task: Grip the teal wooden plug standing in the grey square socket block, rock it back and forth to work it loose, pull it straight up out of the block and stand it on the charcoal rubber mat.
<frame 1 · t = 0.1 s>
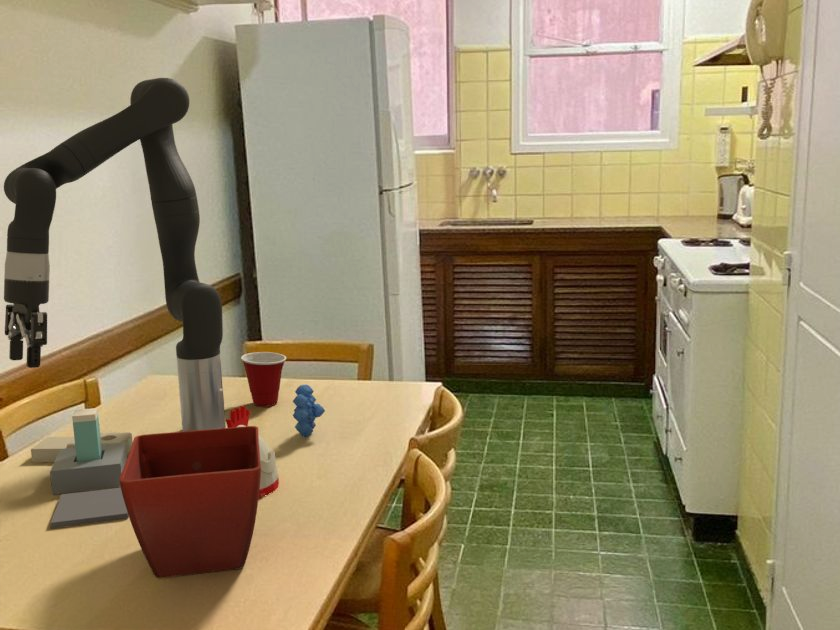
hand: (24, 363, 154), 22 cm above the table, tool pointing down, fingers open, 8 cm apart
mat: (94, 509, 143), on the table
grey square socket block: (91, 478, 157), on the table
plastic cup: (266, 404, 202), on the table
plug: (88, 445, 156), in the grey square socket block
grapes: (310, 438, 177), on the table
electrical outlet: (84, 457, 170), on the table
kitchen timer: (240, 488, 152), on the table
plant pot: (202, 556, 126), on the table
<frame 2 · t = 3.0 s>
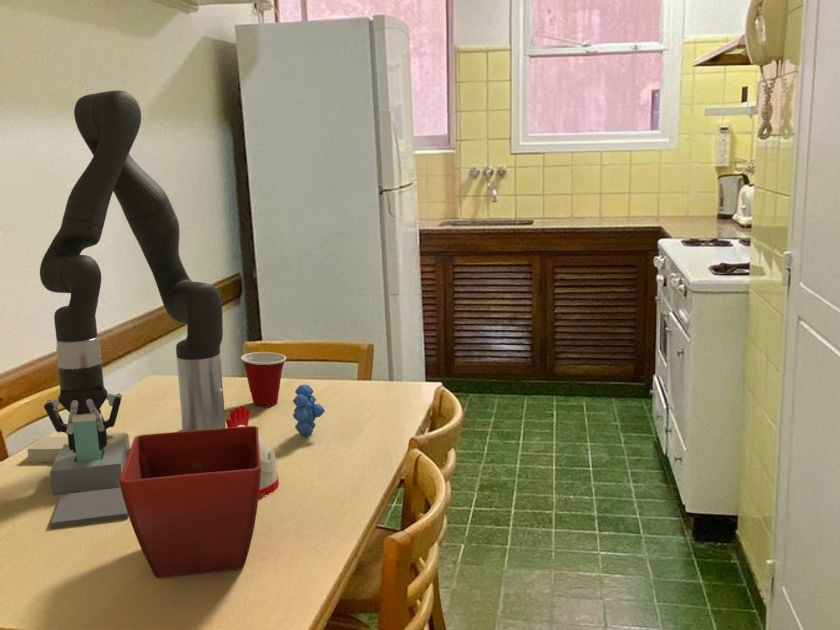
hand: (88, 449, 156), 6 cm above the table, tool pointing down, fingers closed on plug, 4 cm apart
plug: (88, 445, 156), in the grey square socket block, touching gripper
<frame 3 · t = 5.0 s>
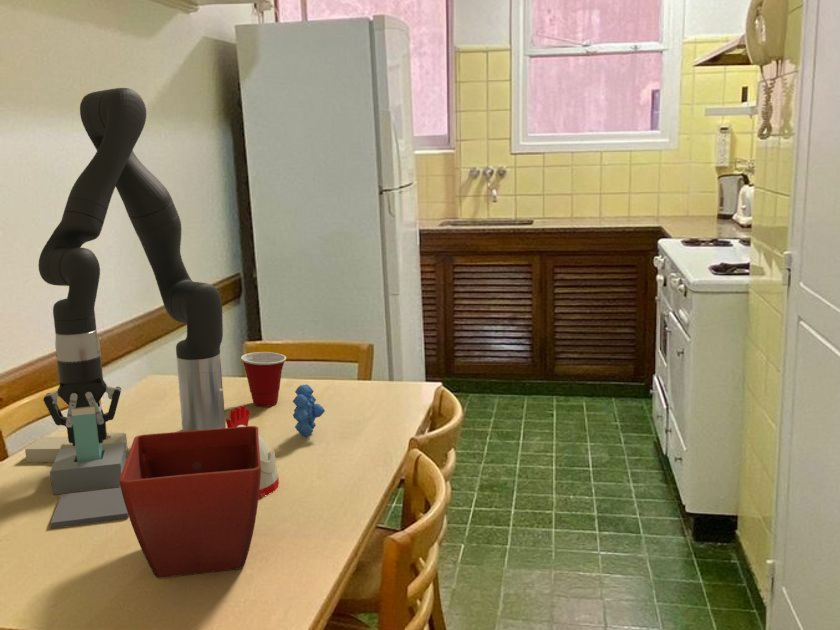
hand: (88, 442, 156), 7 cm above the table, tool pointing down, fingers closed on plug, 4 cm apart
plug: (87, 438, 156), point 8 cm above the table, touching gripper
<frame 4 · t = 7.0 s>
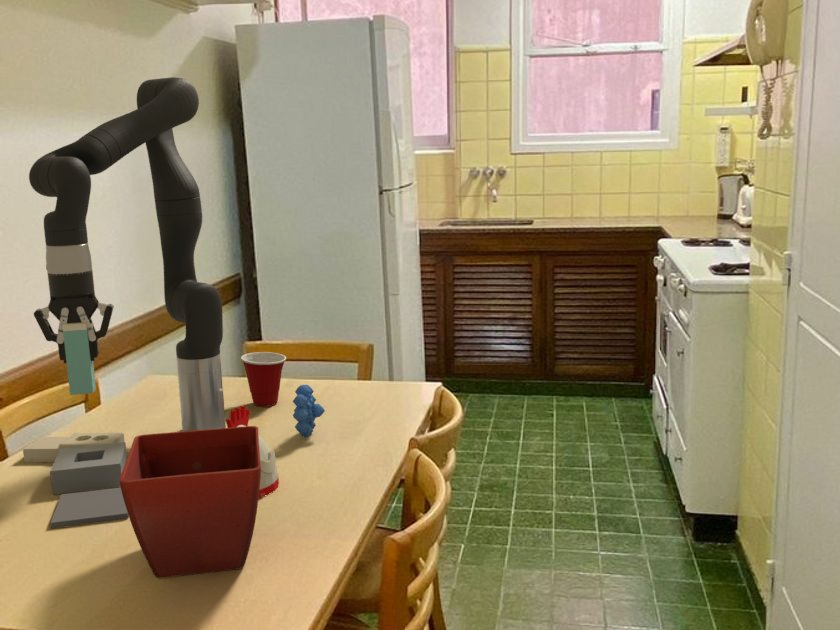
hand: (79, 360, 153), 23 cm above the table, tool pointing down, fingers closed on plug, 4 cm apart
plug: (79, 356, 152), point 24 cm above the table, touching gripper
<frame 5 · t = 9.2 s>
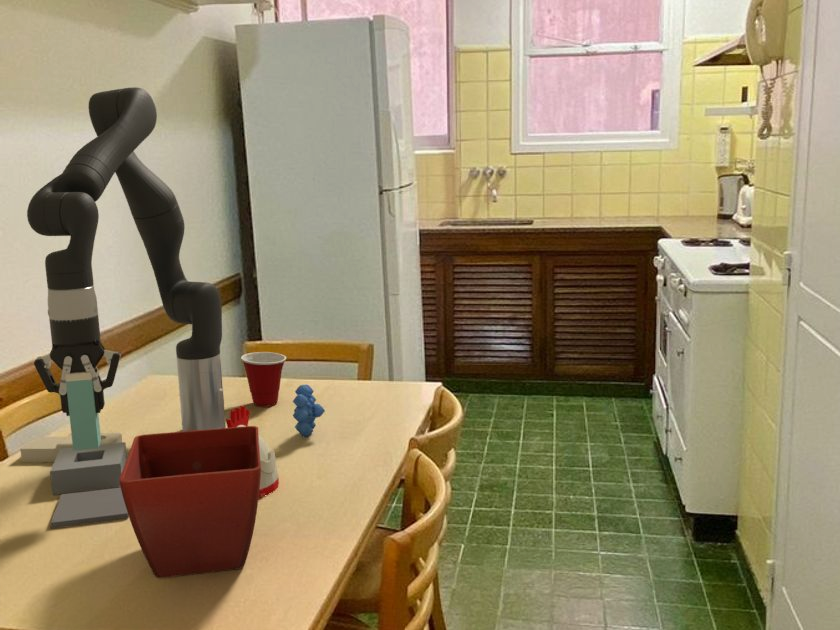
hand: (83, 412, 140), 17 cm above the table, tool pointing down, fingers closed on plug, 4 cm apart
plug: (83, 408, 140), point 18 cm above the table, touching gripper
when the fingers open (8 cm above the table, at t = 11.2 s): plug stays where it is, resting on mat.
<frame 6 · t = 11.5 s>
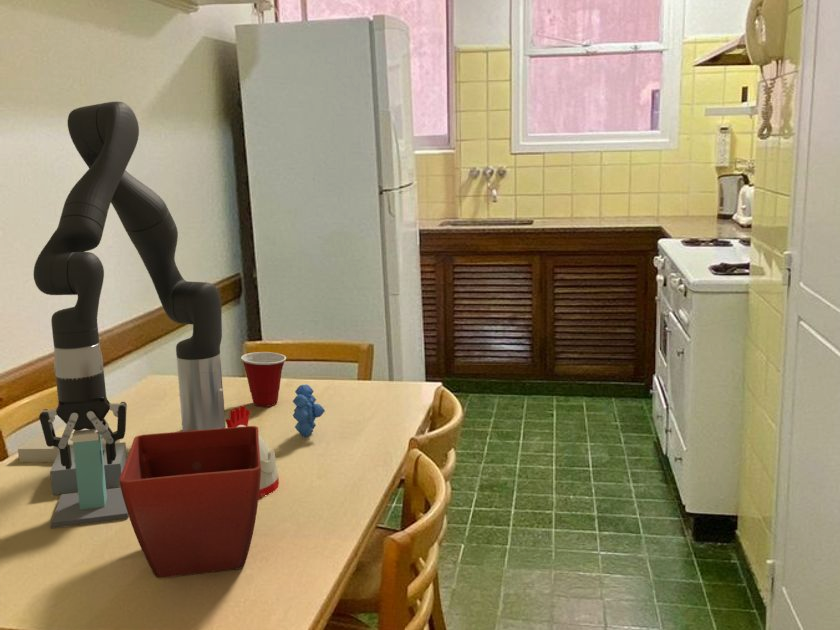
hand: (89, 464, 142), 8 cm above the table, tool pointing down, fingers open, 6 cm apart
plug: (90, 467, 142), on the mat, point 8 cm above the table
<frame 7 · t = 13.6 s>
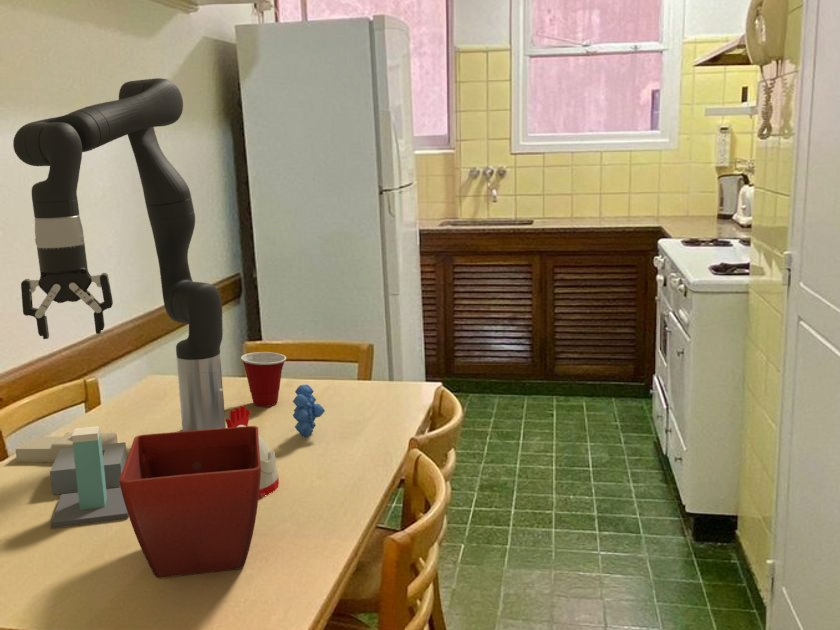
hand: (72, 335, 144), 29 cm above the table, tool pointing down, fingers open, 8 cm apart
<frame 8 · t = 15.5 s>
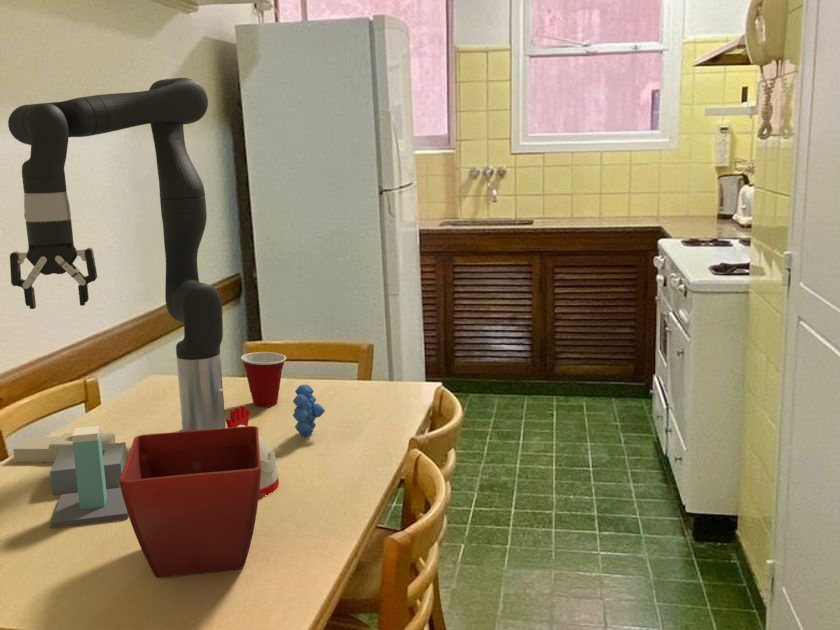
hand: (58, 306, 152), 33 cm above the table, tool pointing down, fingers open, 8 cm apart
at the end: plug inside the target area on the mat (0.1 cm from its centre), point 7.6 cm above the mat's base; plug touching mat; the gripper is holding nothing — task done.
